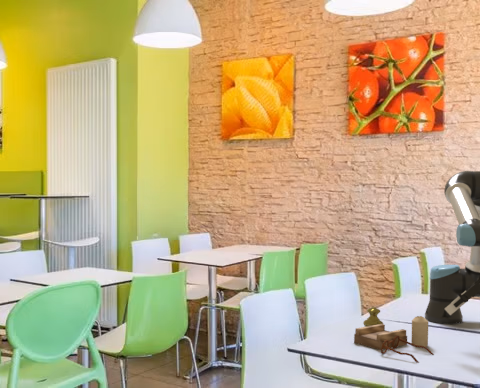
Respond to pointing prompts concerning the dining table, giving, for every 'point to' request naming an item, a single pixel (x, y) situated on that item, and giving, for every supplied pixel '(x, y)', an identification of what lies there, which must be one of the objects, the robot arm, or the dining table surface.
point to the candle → (420, 331)
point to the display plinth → (378, 336)
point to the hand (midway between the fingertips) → (450, 308)
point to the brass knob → (372, 317)
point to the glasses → (397, 345)
